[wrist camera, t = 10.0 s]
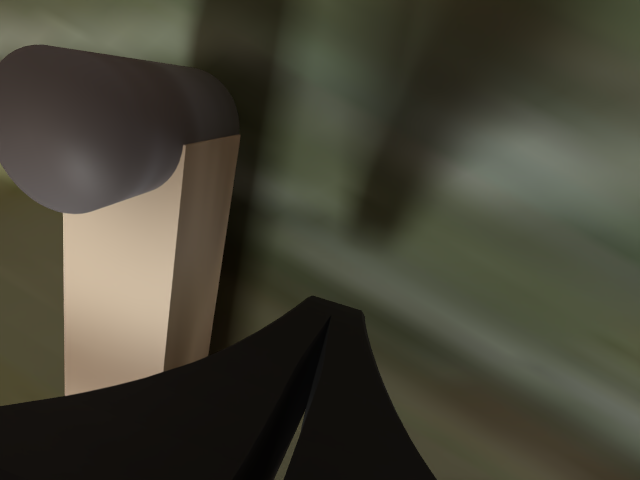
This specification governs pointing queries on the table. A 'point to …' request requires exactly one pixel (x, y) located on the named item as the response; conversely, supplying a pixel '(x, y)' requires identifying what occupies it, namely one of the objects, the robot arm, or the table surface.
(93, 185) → the crank
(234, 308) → the table surface
